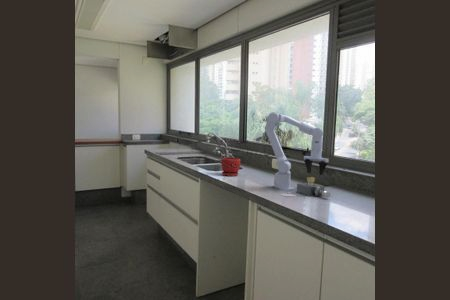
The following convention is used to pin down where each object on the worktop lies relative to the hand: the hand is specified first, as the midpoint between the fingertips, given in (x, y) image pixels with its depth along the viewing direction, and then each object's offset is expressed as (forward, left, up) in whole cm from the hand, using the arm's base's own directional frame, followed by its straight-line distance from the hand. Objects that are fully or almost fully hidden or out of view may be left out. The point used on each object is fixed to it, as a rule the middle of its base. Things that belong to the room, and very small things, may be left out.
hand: (315, 173), depth 177 cm
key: (+5, -7, -8) cm, 12 cm away
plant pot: (-60, -22, -10) cm, 65 cm away
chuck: (+9, -7, -10) cm, 15 cm away
